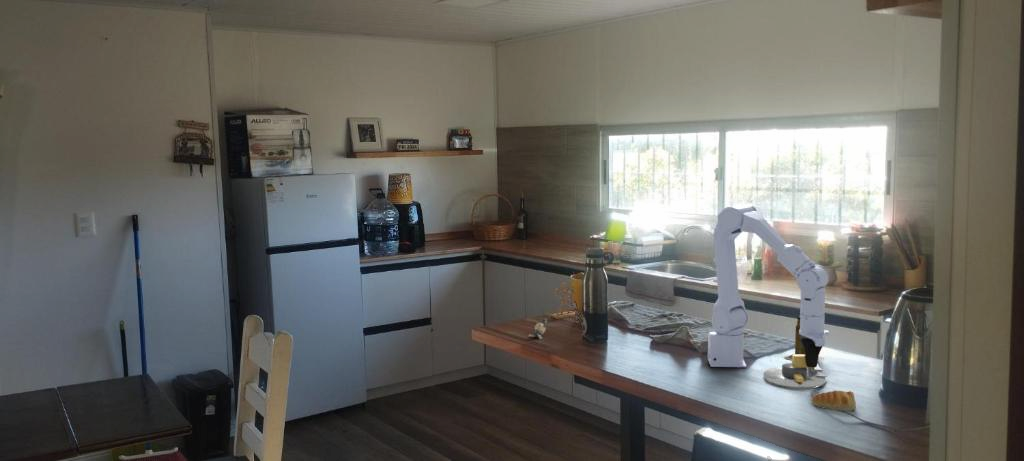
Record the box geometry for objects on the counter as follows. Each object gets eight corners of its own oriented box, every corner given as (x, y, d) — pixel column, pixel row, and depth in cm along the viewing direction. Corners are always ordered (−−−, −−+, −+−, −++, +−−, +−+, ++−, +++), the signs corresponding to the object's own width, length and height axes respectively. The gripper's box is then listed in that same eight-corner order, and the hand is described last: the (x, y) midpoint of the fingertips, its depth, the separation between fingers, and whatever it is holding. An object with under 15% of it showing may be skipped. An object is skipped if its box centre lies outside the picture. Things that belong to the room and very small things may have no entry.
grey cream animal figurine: (539, 333, 253) (540, 315, 252) (552, 337, 250) (553, 319, 249) (528, 336, 249) (529, 318, 248) (541, 340, 246) (542, 322, 245)
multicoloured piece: (787, 381, 195) (788, 362, 194) (779, 370, 204) (779, 351, 204) (820, 382, 194) (820, 362, 194) (810, 370, 203) (810, 352, 203)
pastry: (814, 410, 180) (814, 394, 179) (809, 400, 186) (810, 385, 186) (857, 412, 178) (858, 396, 177) (852, 402, 184) (852, 387, 184)
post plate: (769, 388, 195) (769, 375, 194) (759, 369, 210) (759, 358, 209) (834, 389, 193) (835, 376, 192) (819, 371, 207) (820, 358, 207)
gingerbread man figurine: (573, 313, 279) (572, 280, 277) (579, 315, 275) (578, 282, 274) (551, 316, 275) (551, 283, 273) (557, 319, 271) (556, 285, 270)
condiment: (824, 358, 218) (825, 316, 217) (805, 364, 214) (806, 321, 212) (802, 352, 224) (803, 312, 223) (783, 358, 220) (784, 316, 218)
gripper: (837, 321, 189) (836, 375, 191) (820, 307, 204) (819, 358, 205) (807, 321, 190) (806, 375, 192) (792, 307, 204) (791, 358, 206)
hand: (811, 366), depth 199 cm, fingers closed, pressing on multicoloured piece
